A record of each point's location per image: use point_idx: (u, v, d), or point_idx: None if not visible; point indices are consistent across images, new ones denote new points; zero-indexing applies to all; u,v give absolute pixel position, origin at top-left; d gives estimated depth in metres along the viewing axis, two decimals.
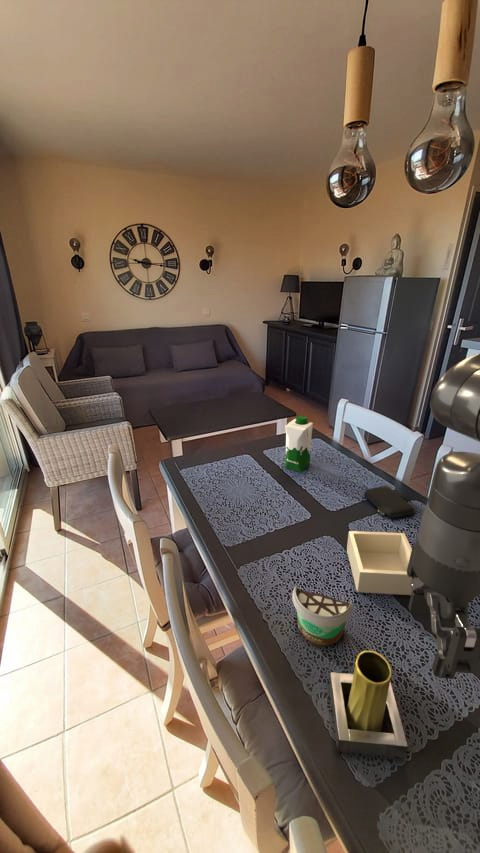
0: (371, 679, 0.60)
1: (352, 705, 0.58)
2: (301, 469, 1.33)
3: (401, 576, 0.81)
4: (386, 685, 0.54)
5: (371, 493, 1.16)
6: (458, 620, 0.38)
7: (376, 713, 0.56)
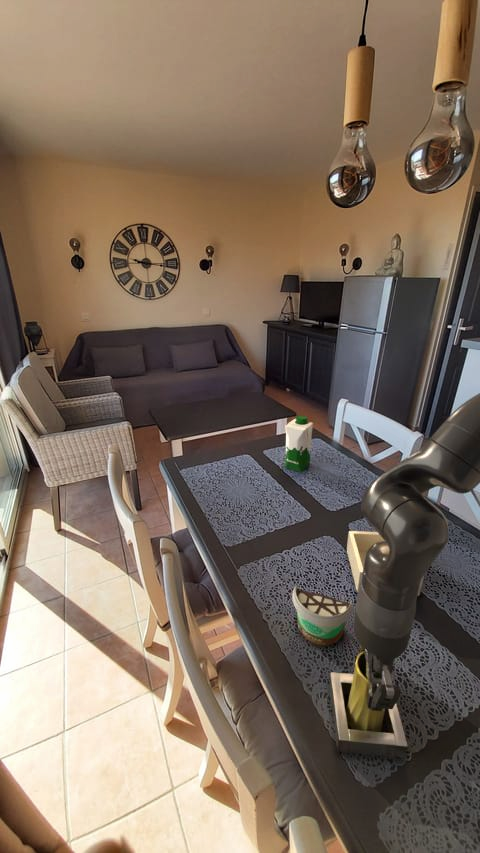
0: None
1: (352, 705, 0.58)
2: (301, 469, 1.33)
3: None
4: None
5: None
6: (383, 678, 0.49)
7: (376, 713, 0.56)
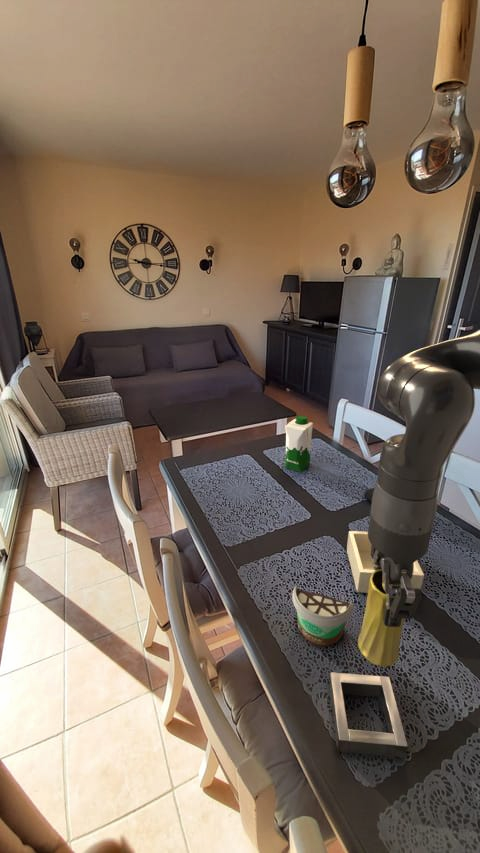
0: None
1: (366, 628, 0.54)
2: (301, 469, 1.33)
3: None
4: None
5: (371, 493, 1.16)
6: (403, 582, 0.45)
7: (393, 633, 0.52)
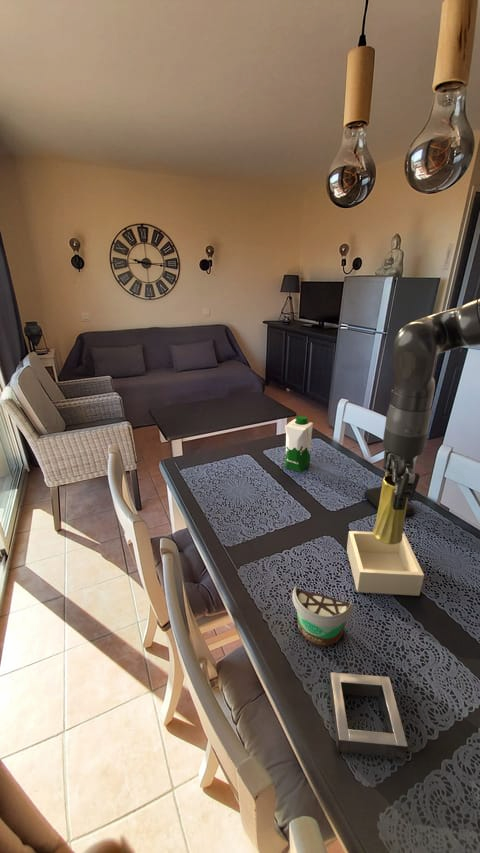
0: None
1: (380, 517, 0.77)
2: (301, 469, 1.33)
3: (401, 576, 0.81)
4: None
5: (371, 493, 1.16)
6: (407, 470, 0.67)
7: (399, 517, 0.74)
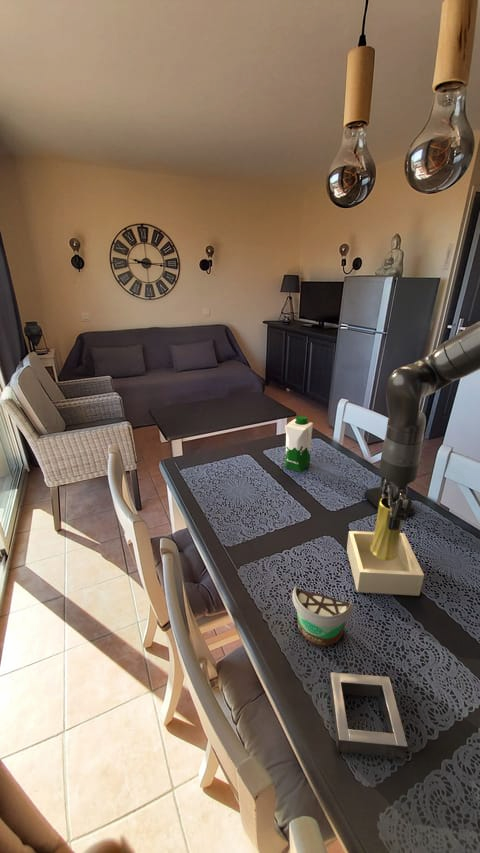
0: None
1: (376, 535, 0.84)
2: (301, 469, 1.33)
3: (401, 576, 0.81)
4: None
5: (371, 493, 1.16)
6: (400, 496, 0.75)
7: (393, 536, 0.82)
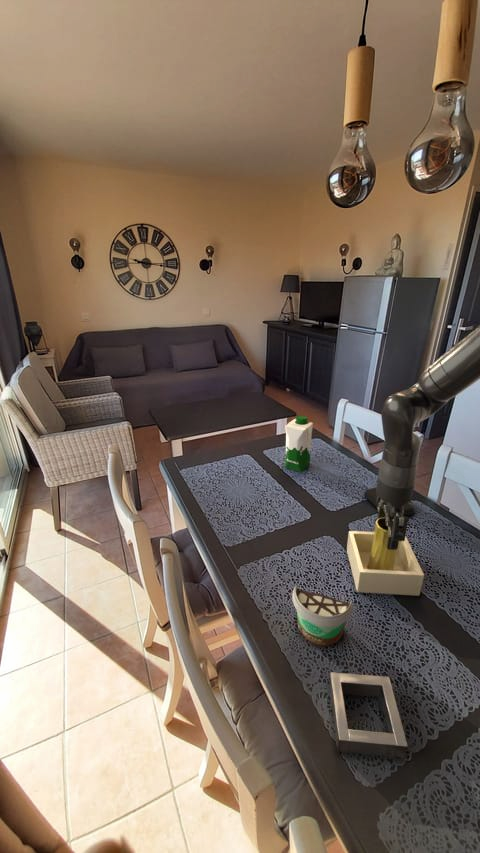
0: None
1: (373, 555, 0.87)
2: (301, 469, 1.33)
3: (401, 576, 0.81)
4: None
5: (371, 493, 1.16)
6: (396, 514, 0.77)
7: (390, 556, 0.84)
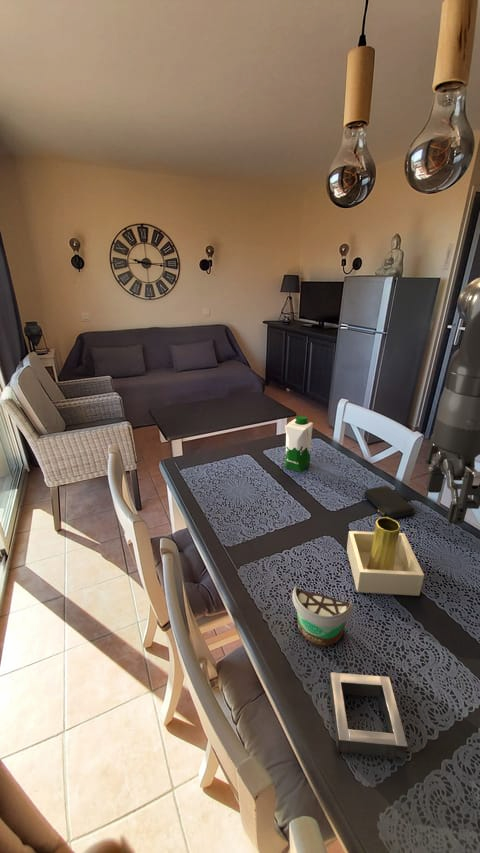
0: None
1: (373, 555, 0.87)
2: (301, 469, 1.33)
3: (401, 576, 0.81)
4: (396, 533, 0.82)
5: (371, 493, 1.16)
6: (467, 469, 0.53)
7: (389, 556, 0.84)
